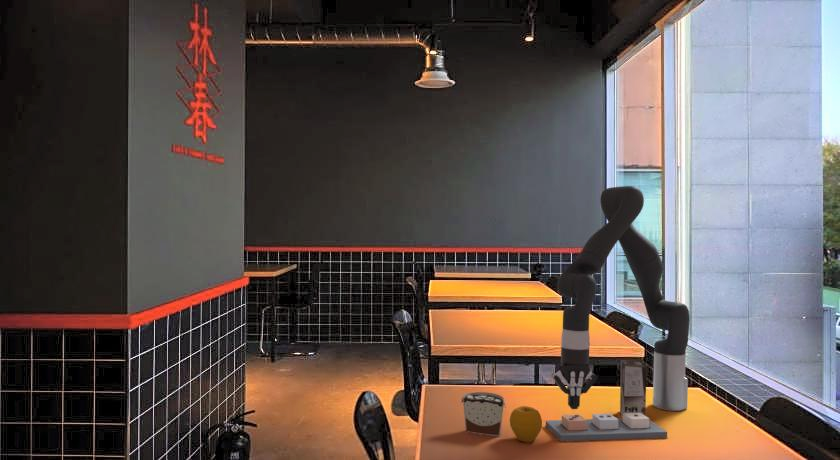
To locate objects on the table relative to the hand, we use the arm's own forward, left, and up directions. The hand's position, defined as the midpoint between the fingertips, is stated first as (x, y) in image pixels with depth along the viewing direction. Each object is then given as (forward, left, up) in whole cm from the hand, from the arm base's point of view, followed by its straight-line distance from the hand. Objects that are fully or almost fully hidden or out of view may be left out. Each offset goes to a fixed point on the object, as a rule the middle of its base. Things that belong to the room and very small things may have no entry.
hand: (573, 408), depth 171 cm
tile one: (-18, 0, -5) cm, 19 cm away
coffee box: (-23, -12, -7) cm, 27 cm away
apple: (+15, +4, -7) cm, 17 cm away
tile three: (0, 0, -5) cm, 5 cm away
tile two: (-9, 0, -5) cm, 11 cm away
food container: (+24, -4, -7) cm, 25 cm away
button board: (-9, 0, -7) cm, 11 cm away
